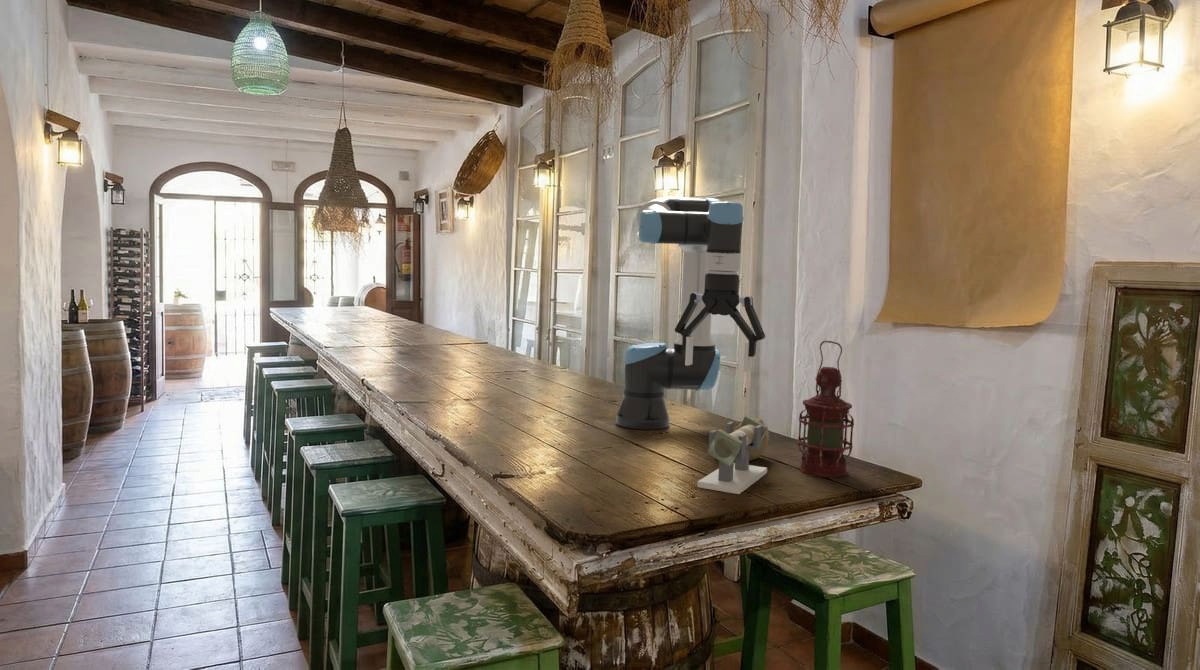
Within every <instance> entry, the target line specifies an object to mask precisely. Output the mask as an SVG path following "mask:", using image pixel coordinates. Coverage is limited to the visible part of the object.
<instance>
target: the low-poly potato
mask: <svg viewBox="0 0 1200 670" xmlns="http://www.w3.org/2000/svg"><path fill="white" fill-rule="evenodd" d="M752 418H753V419H755V420H756V421H758V422H760V423H762V424H764V425H766V424H765V422H764V421H763V419H762V418H755V417H752ZM742 422H743V421H742ZM742 422H740V423H739V424H738V425H737V426H736V425H735V426H734V430H733V432H734V431H736V430H738V429H739V428H740V426H741V424H742ZM719 429H721V430H723V431H724V432H726V425H725V426H724V425H721V426H720V427H719V428H718V429H717V430H719ZM769 442H770V431H769V429H767V431H766V433H765V435H764V437H763V439H762V441H761V448H760V449H758V450H751V449H750V452H749V462H750V461H753V460H756V459H758V458H760V456H761V455H763V454H764V452H765V451H766V450H767V447H768V444H769Z"/></svg>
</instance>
